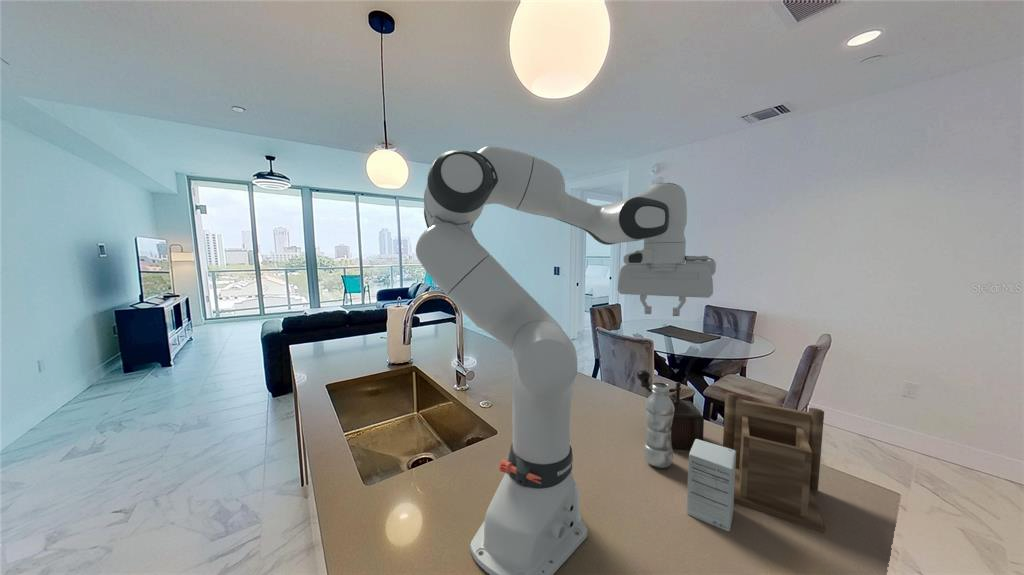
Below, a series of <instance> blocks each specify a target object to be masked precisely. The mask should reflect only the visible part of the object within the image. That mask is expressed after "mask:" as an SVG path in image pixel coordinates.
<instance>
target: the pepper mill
mask: <svg viewBox="0 0 1024 575" xmlns="http://www.w3.org/2000/svg"><path fill="white" fill-rule="evenodd" d="M636 378H637V379H638V380H639V381H640V386H641V387H642V388H644V389H645V390H647V391H648V392H650V393H651V394H652V393H653V392H652V388H650V387H651V383H650V381H649V380H650V378H651V373H650V372H649V371H648V370H645V369H640V370H639V371H637V372H636ZM681 386H682V383H681V382H680V381H677V382H675V387H674V388H669V394H670V393H675V394H672V395H671V397H669V398H670V399H671V401H672V402H673V405H674V408H675V410H674V416H673V421H672V429H671V442H672V450H679V451H682V450H683V451H691V448H692V446H693V444H694V441H695V439H699V440H702V441H704V427H705V426H704V425H705V418H704V415H703V414H702V413H701V412H700V411H699V410H698V408H697V407H696V405H695V404H694V403H693V402H692V401H691V400H683V399H681V398H680V397H681V396H680V395H681V390H682V387H681Z"/></svg>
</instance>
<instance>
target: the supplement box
mask: <svg viewBox="0 0 1024 575" xmlns="http://www.w3.org/2000/svg"><path fill="white" fill-rule="evenodd" d="M735 465H736V451H735V450H732V449H729V448H726V447H723V445H720V444H719V445H718V444H715V443H713V442H712V443H711V442H708V441H705V440H703V441H702V440H699V439H695V441H694V444H693V446H692V448H691V450H689V454H688V467H687V468H688V470H687V492H686V493H687V497H686V514H688V515H689V516H691V517H694V518H696V519H697V520H700V521H702V522H704V523H707V524H709V525H712V526H713V527H716V528H718V529H720V530H723V531H726V532H727V533H729V532H731V527H732V521H733V517H734V516H733V514H734V506H735V505H734V504H735V502H734V485H735Z"/></svg>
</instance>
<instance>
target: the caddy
mask: <svg viewBox="0 0 1024 575" xmlns="http://www.w3.org/2000/svg"><path fill="white" fill-rule="evenodd" d="M738 395H739V394H736V393H733V392H725V394H724V396H725V397H724V399H725V400H724V418H723V435H722V437H723V438H722V446H723V447H726V448H729V449H732V450H735V451H736V465H735V485H734V504H735V503H736V504H738V505H742V506H745V507H747V508H750V509H753V510H756V511H759V512H762V513H765V514H768V515H771V516H773V517H774V516H775V517H777V518H780V519H783V520H786V521H788V522H792V523H795V524H798V525H800V526H804V527H806V528H810V529H813V530H816V531H819V532H821V533H825V531H826V527H825V524H824V522H823V518H822V515H821V512H820V508H819V507H818V504H817V500H816V497H815V495H817V494H818V493H819V481H820V472H821V471H820V470H821V469H820V468H821V467H820V466H821V458H822V456H821V455H822V446H823V445H822V444H823V432H824V431H823V430H824V419H825V411H824V410H822V409H820V408H817V407H808V411H804V410H799V409H795V408H794V409H793V408H789V407H788V408H787V407H783V406H777V405H773V404H767V403H762V402H758V401H757V402H756V401H752V400H745V399H741V398H738Z"/></svg>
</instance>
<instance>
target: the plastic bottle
mask: <svg viewBox="0 0 1024 575" xmlns="http://www.w3.org/2000/svg"><path fill="white" fill-rule="evenodd" d="M651 385H652V386H651V389H652V392H653V393H652V392H651V394H650V395H649V396H648V397H647V398H646V401H645V403H644V408H645V415H646V417H645V418H646V437H645V443H644V446H643V454H644V459H645V460H646V462H647V463H648V464H649V465H651V466H653V467H655V468H660V469H667V468H670V466H671V465H672V463H673V460H674V449H672V442H671V429H672V421H673V416H674V410H675V408H674V405H673V402H672V401H671V399H670V398H671V397H669V395H670V393H669V389H670V385H669V384H667V383H665V382H660V381H658V382H657V381H655V382H653V383H652V384H651Z"/></svg>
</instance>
